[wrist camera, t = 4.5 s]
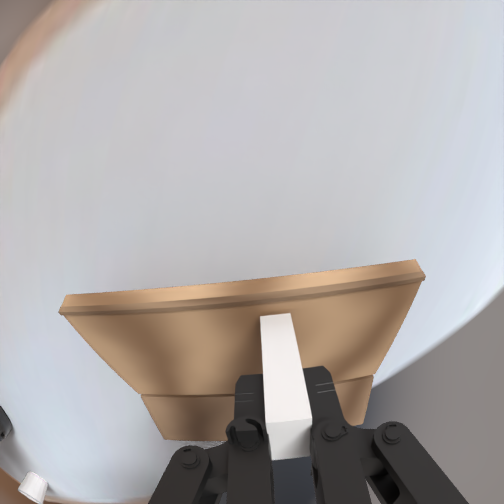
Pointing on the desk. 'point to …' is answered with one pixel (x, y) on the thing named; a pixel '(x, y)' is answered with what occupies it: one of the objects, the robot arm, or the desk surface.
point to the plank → (245, 326)
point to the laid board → (222, 411)
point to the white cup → (33, 487)
